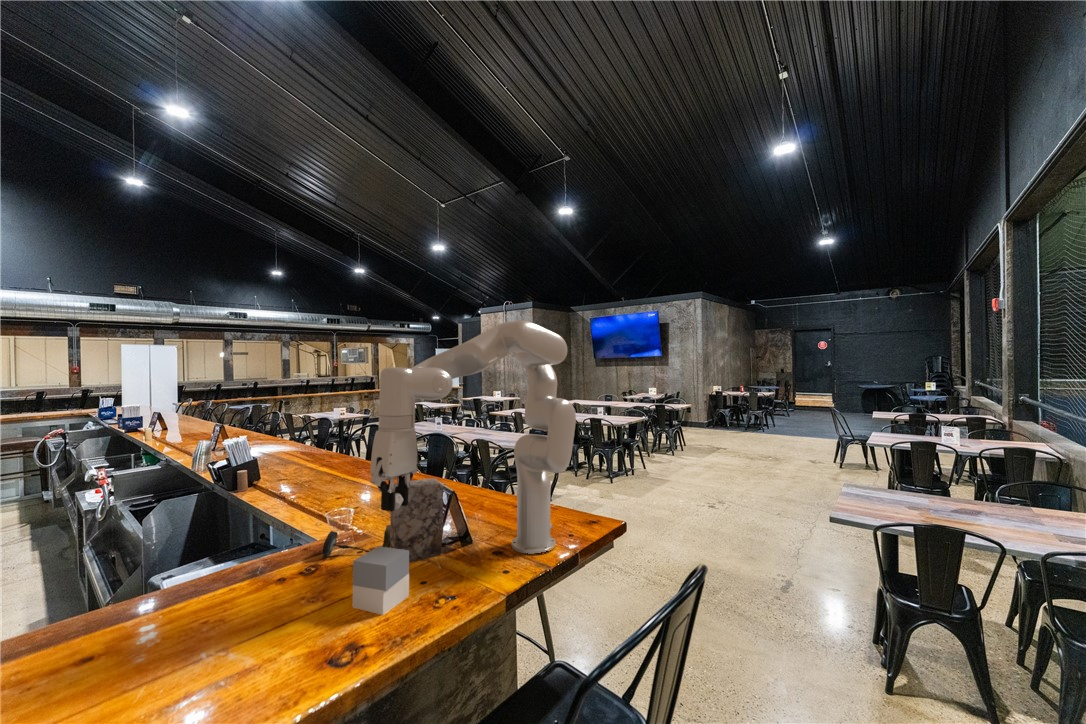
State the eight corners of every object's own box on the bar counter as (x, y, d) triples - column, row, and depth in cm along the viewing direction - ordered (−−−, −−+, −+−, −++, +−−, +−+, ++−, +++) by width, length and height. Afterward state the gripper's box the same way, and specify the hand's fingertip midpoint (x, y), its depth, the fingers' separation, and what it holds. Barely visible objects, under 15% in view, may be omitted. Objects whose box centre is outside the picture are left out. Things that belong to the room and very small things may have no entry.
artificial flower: (330, 554, 118) (339, 516, 121) (411, 561, 120) (418, 523, 123) (318, 558, 110) (327, 517, 113) (405, 565, 112) (413, 525, 115)
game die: (386, 511, 90) (386, 497, 90) (385, 506, 93) (385, 492, 94) (403, 509, 91) (404, 495, 92) (402, 504, 95) (402, 491, 95)
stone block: (395, 568, 106) (396, 488, 107) (386, 559, 112) (388, 482, 112) (444, 555, 114) (445, 480, 115) (434, 547, 120) (435, 476, 121)
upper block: (378, 568, 96) (378, 546, 96) (408, 573, 93) (409, 550, 94) (352, 585, 88) (353, 560, 88) (385, 590, 86) (386, 565, 86)
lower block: (379, 590, 96) (380, 567, 96) (408, 596, 93) (409, 573, 93) (352, 608, 88) (352, 583, 89) (383, 615, 86) (383, 590, 86)
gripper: (408, 419, 102) (406, 496, 102) (354, 426, 87) (351, 516, 86) (434, 420, 100) (432, 499, 99) (383, 427, 84) (380, 521, 83)
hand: (394, 506), depth 92 cm, fingers closed on game die, 3 cm apart
